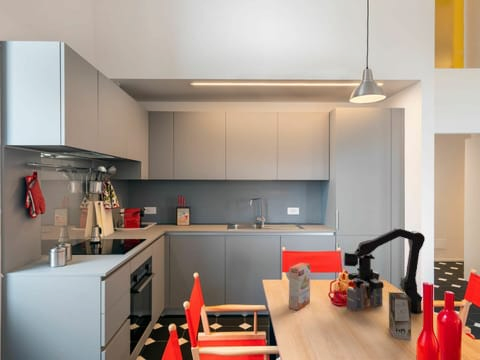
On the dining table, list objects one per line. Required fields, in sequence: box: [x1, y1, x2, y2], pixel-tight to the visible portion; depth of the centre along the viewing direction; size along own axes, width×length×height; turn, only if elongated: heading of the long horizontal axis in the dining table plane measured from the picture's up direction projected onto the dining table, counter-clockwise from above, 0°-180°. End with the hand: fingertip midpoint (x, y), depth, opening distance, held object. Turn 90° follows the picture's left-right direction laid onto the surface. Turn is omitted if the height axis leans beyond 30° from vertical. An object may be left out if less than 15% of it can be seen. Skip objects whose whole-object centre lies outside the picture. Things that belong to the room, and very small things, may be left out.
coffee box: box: [388, 291, 412, 341], centre depth 129 cm, size 9×6×16 cm
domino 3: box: [360, 284, 371, 308], centre depth 159 cm, size 5×2×10 cm, turn 25°
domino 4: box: [366, 284, 377, 308], centre depth 161 cm, size 5×2×10 cm, turn 25°
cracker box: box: [288, 262, 311, 311], centre depth 160 cm, size 14×6×21 cm, turn 143°
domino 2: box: [353, 286, 364, 311], centre depth 157 cm, size 5×2×10 cm, turn 25°
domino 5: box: [376, 288, 384, 307], centre depth 163 cm, size 5×2×10 cm, turn 25°
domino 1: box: [346, 287, 358, 312], centre depth 155 cm, size 5×2×10 cm, turn 25°
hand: (365, 297), depth 159 cm, fingers closed on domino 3, 5 cm apart
